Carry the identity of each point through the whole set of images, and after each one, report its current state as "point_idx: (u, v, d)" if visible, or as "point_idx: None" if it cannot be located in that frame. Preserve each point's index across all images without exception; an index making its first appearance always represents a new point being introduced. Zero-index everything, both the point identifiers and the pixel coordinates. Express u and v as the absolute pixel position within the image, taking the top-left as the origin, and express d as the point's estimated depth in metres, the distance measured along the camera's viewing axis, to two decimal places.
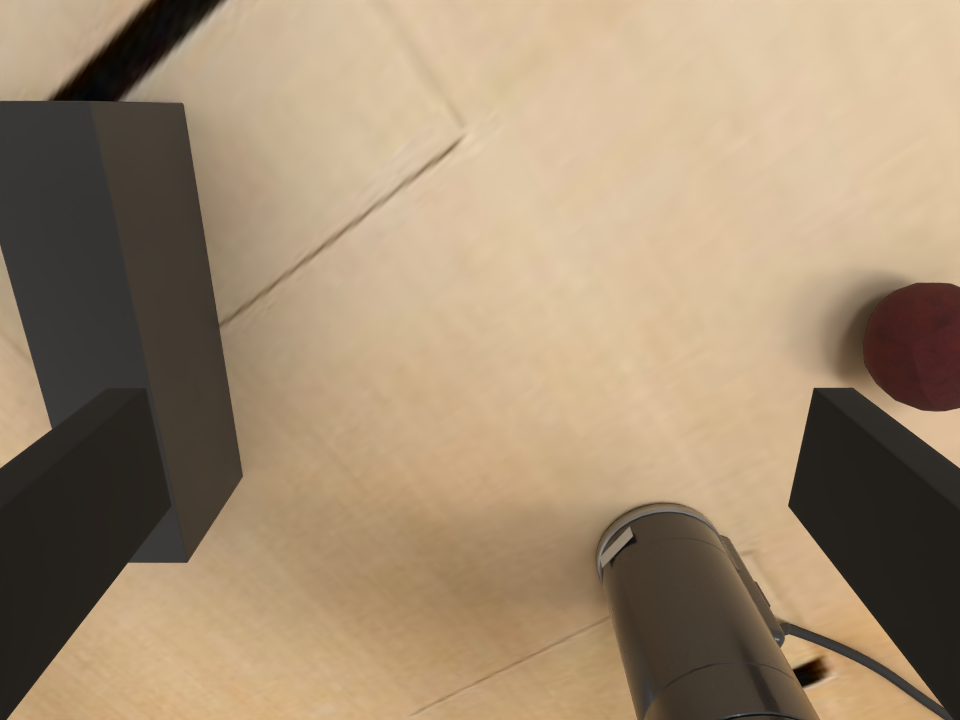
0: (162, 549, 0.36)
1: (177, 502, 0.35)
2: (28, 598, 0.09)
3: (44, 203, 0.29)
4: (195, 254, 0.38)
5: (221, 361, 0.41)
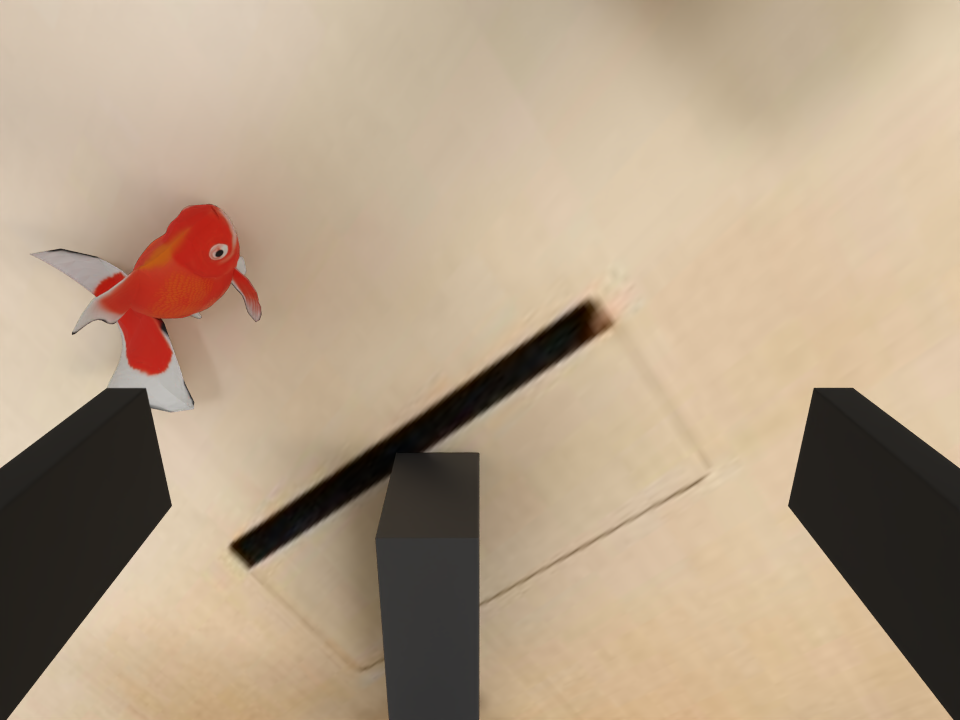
0: None
1: None
2: (27, 598, 0.09)
3: (425, 600, 0.36)
4: None
5: None
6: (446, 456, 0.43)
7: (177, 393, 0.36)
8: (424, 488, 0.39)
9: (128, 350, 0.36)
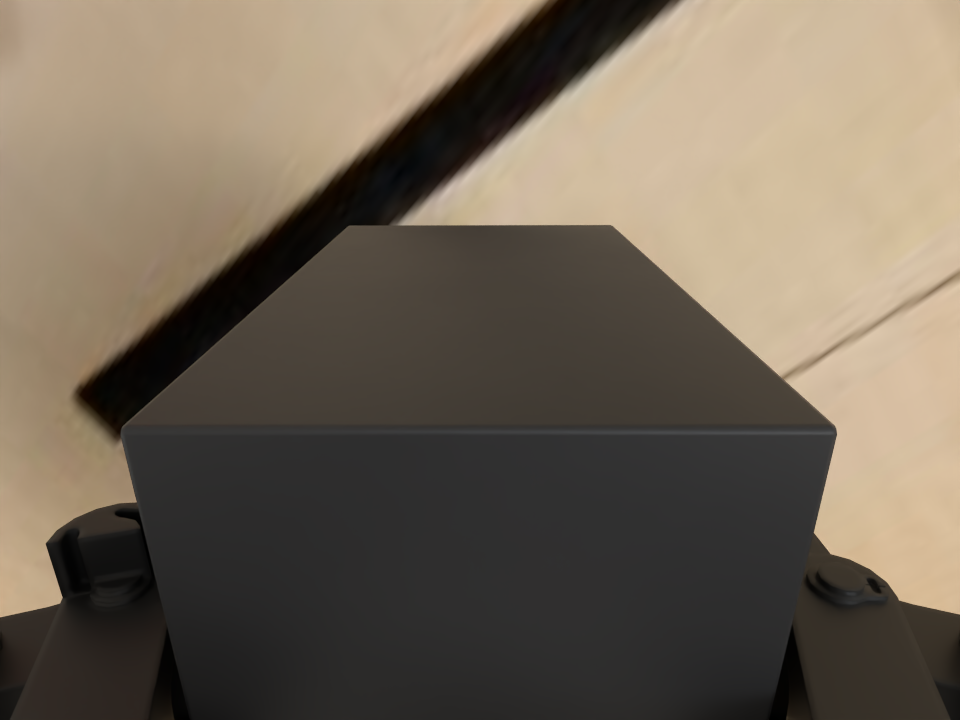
0: None
1: None
2: None
3: None
4: None
5: None
6: (509, 229, 0.13)
7: None
8: (444, 275, 0.09)
9: None
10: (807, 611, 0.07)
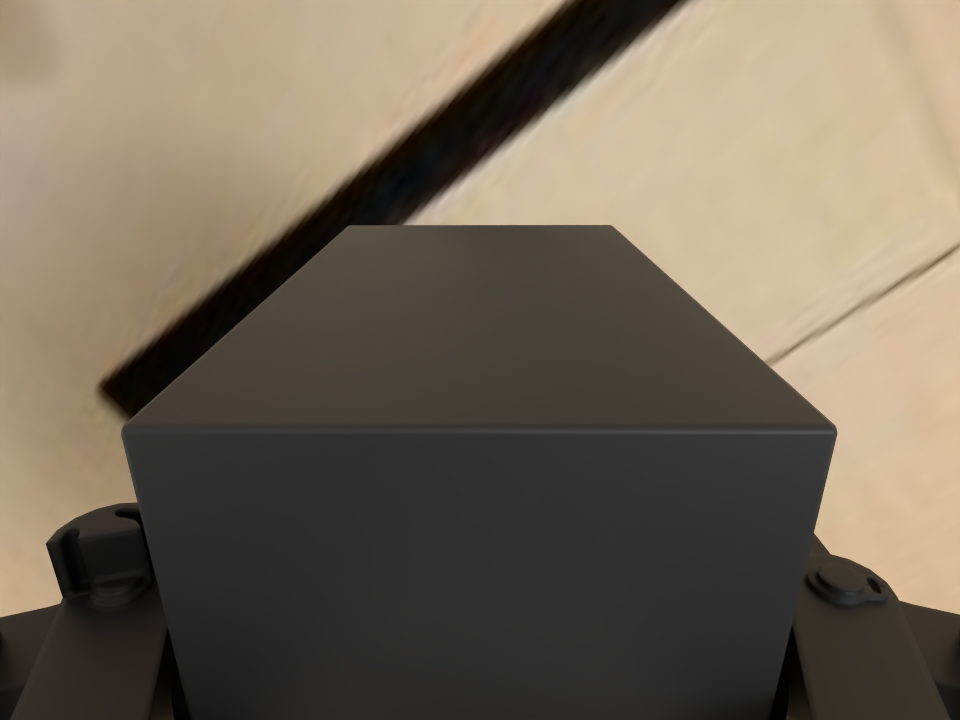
0: None
1: None
2: None
3: None
4: None
5: None
6: (509, 229, 0.13)
7: None
8: (444, 275, 0.09)
9: None
10: (807, 611, 0.07)
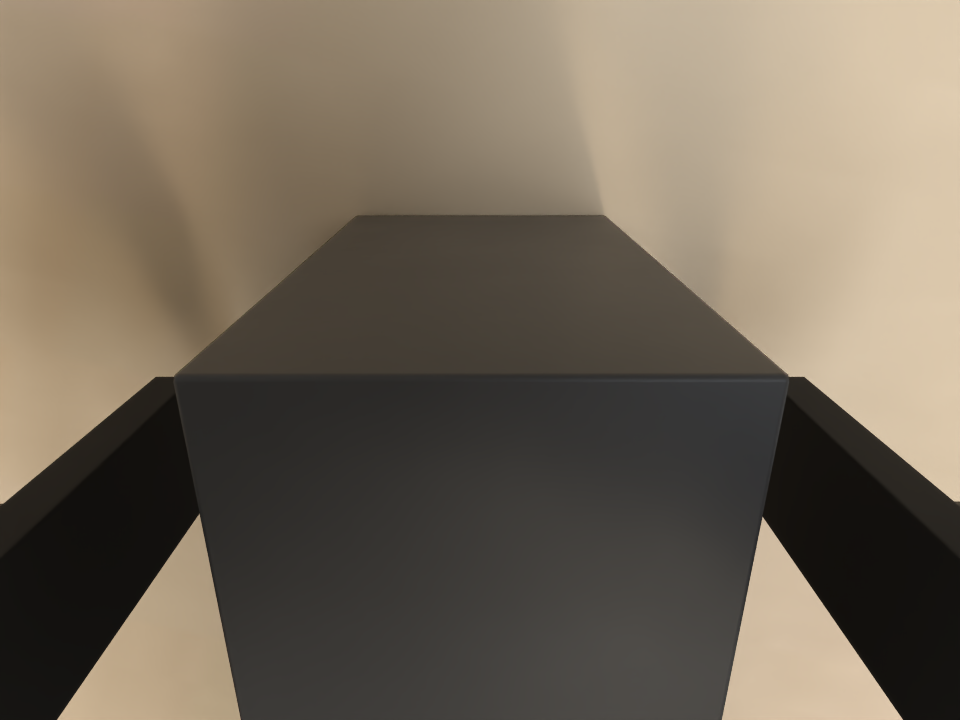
0: None
1: None
2: (97, 573, 0.09)
3: (461, 718, 0.07)
4: None
5: None
6: (508, 219, 0.14)
7: None
8: (448, 258, 0.10)
9: None
10: None
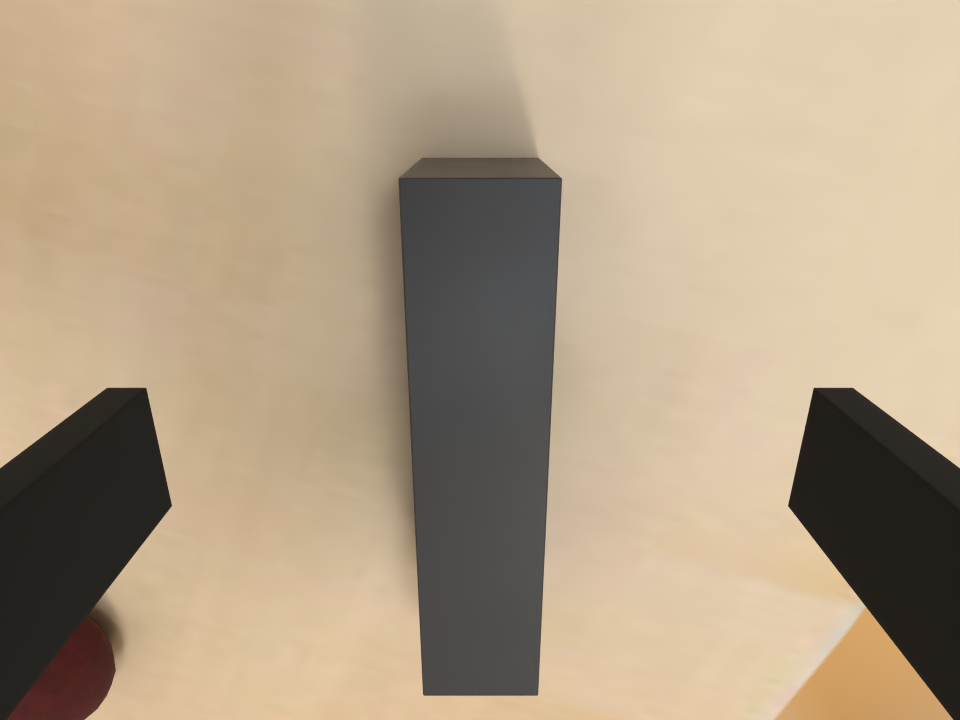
0: (513, 681, 0.31)
1: (540, 630, 0.30)
2: (27, 598, 0.09)
3: (474, 298, 0.24)
4: None
5: None
6: (493, 158, 0.30)
7: None
8: (467, 165, 0.27)
9: None
10: None
